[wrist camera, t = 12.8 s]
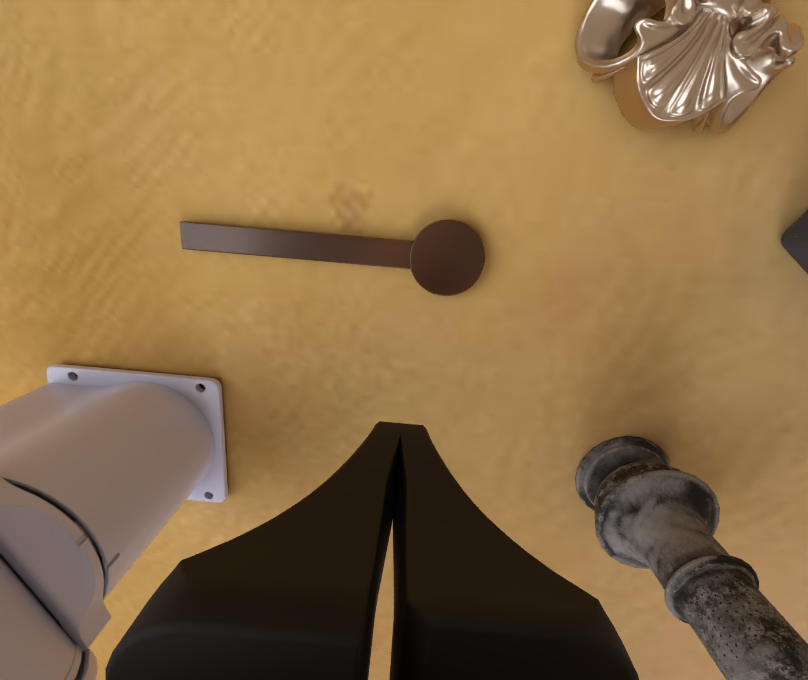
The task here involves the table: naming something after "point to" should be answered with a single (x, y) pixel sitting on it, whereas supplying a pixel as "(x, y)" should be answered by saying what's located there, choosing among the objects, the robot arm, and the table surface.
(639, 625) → the table surface
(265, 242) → the brown disc-ended stick
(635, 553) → the grey stone chess piece
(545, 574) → the robot arm
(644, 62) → the ornament
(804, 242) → the calculator
